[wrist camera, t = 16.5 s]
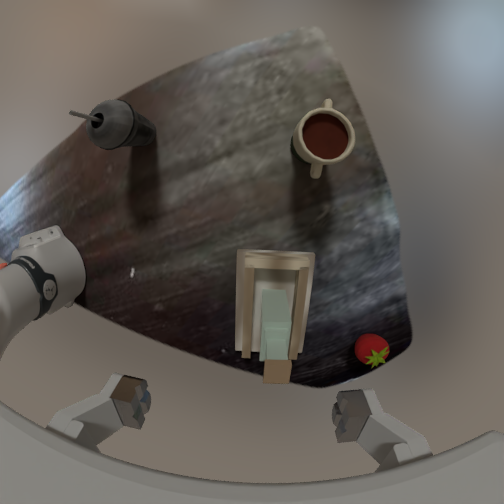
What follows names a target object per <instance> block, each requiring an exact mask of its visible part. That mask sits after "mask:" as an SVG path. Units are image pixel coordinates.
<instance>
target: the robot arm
mask: <svg viewBox="0 0 504 504" xmlns="http://www.w3.org/2000/svg"><path fill="white" fill-rule="evenodd" d="M52 232H53V233H52ZM85 278H86V275H85V268H84V264H83V261H82V258H81V256H80V254H79V252H78V250H77V249H76V248H75V246H74V245H73V244H72V243H71V242H70V241H69V240H68V239H67V238H66V237H65V236H64V234H63V232H62V230H61V229H60V227H59V226H57V225H55V226H52V227H49V228H46V229H43V230H39V231H36V232H33V233H30V234H28V235H25V236H23V237H21V238H20V242H19V248H18V249H15V250H14V251H13V253H12V261H11V262H10V263H9V264H8V265H7V263H2V264H0V359H1V357H2V355H3V353H4V351H5V349H6V348H7V346H8V344H9V343H10V341H11V340H12V339H13V338H14V336H15V335H16V334H18V333H19V332H20V331H21V330H22V329H23V328H24V327H25V326H26V325H28V324H29V323H30V322H31V321H33V320H37V319H39V318H41V317H42V316H44V315H45V314H46V313H48V314H52V313H54V312H55V311H57V310H59V309H60V308H62V307H63V306H65V307H67V308H69V307H71V306H72V305H73V303H74V300H75V298H76V297H77V296H78V295H79V294H80V293H81V292H82V290H83V288H84V286H85ZM147 387H148V385H147V381H146V380H144V379H140V378H136V377H131V376H127V375H123V374H119V373H113V374H112V376H111V377H110V379H109V380H108V382H107V383H106V385H105V386H104V388H103V389H102V391H101V392H100V394H99V395H97V394H96V395H93V396H91V397H89V398H87V399H85V400H82V401H80V402H78V403H76V404H74V405H71V406H69V407H67V408H64V409H62V410H60V411H57V413H56V414H55V415H54V417H53V418H52V420H51V421H50V422H49V424H48V425H47V427H46V428H43V427H41V426H40V425H38V424H36V423H34V422H33V421H31V420H29V419H27V418H26V417H24V416H22V415H21V414H19V413H18V412H16V411H14V410H13V409H11V408H10V407H8V406H7V405H5V404H4V403H2V402H1V401H0V504H504V434H502V433H501V432H498V431H495V430H492V431H489V432H486V433H484V434H482V435H480V436H478V437H477V438H474V439H472V440H470V441H468V442H466V443H464V444H461V445H459V446H457V447H454V448H452V449H449V450H447V451H444V452H442V453H439V454H437V455H434V456H433V454H432V452H431V450H430V447H429V446H428V443H427V441H426V439H425V437H424V436H423V435H421V434H420V433H418V432H416V431H415V430H413V429H411V428H410V427H408V426H407V425H405V424H404V423H402V422H400V421H399V420H397V419H396V418H394V417H393V416H391V415H390V414H388V413H384V412H383V410H382V407H381V406H380V403H379V401H378V398H377V396H376V394H375V392H374V390H373V389H372V388H368V389H361V390H360V389H359V390H350V391H339V392H338V394H337V397H336V398H337V402H336V403H335V404H334V406H333V409H332V420H333V424H334V425H335V426H337V428H336V430H335V433H336V437H337V441H338V443H341V442H351V441H356V442H357V443H358V444H359V445H360V446H361V447H362V448H363V449H364V450H365V451H366V452H367V453H368V454H370V455H371V456H372V457H373V458H374V459H375V460H376V461H377V462H378V463H379V464H380V466H379V467H378V468H377V470H376V471H375V472H374V473H369V474H364V475H359V476H353V477H347V478H340V479H333V480H326V481H315V482H300V483H242V482H229V481H217V480H209V479H202V478H195V477H188V476H183V475H178V474H173V473H167V472H163V471H159V470H154V469H150V468H146V467H143V466H139V465H135V464H132V463H129V462H125V461H122V460H119V459H116V458H113V457H110V456H107V455H104V454H102V453H101V452H100V451H99V449H98V448H97V446H96V445H97V444H99V443H100V442H102V441H103V440H105V439H106V438H108V437H109V436H111V435H112V434H113V433H115V432H116V431H118V430H119V429H120V428H122V427H123V425H124V426H128V427H132V428H136V429H141V427H142V425H143V423H144V421H145V417H144V414H146V413H147V412H148V411H149V409H150V405H151V396H150V393H149V392H148V391H147V390H146V389H147Z"/></svg>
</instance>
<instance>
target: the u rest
mask: <svg viewBox="0 0 504 504" xmlns="http://www.w3.org/2000/svg"><path fill="white" fill-rule="evenodd" d="M314 261H315V254H314V253H313V252H292V251H271V250H250V249H238V250H237V273H236V328H235V350H237V351H242V358H250V353H251V351H254V352H260V319H261V303H262V289H275V290H286V295H287V300H288V305H289V311H290V316H291V321H292V324H291V332H290V339H289V347H288V359H293V360H297V354H298V353H302V348H303V342H304V336H305V329H306V323H307V316H308V309H309V302H310V294H311V287H312V279H313V270H314Z"/></svg>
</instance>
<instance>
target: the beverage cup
mask: <svg viewBox="0 0 504 504" xmlns="http://www.w3.org/2000/svg"><path fill="white" fill-rule="evenodd" d="M69 114H70V115H74V116H78V117H82V118H85V119H87V124H86V130H87V134H88V136H89V138H90V140H91V141H92V142H93V143H94V144H95V145H96V146H99V147H100V148H103V149H106V150H112V149H115V148H119V147H124V146H145V145H148V144H150V143H151V142H152V141H153V140H154V138H155V136H156V127H155V126H154V124H153V123H151V122H150V121H149V120H148V119H146V118H145V117H143V116H142V115H140V114H139V113H137V112H136V111H135V110H134V109H133V108H132V107H131V105H130V104H128V103H127V102H126V101H122V100H108V101H104V102H102V103H100V104H98V105H97V106H96V107H95V108H94V109H93V110H92V111H91V113H90V114H89V115H86V114H83V113H79V112H76V111H70V112H69Z"/></svg>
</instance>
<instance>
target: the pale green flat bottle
mask: <svg viewBox="0 0 504 504" xmlns="http://www.w3.org/2000/svg"><path fill="white" fill-rule="evenodd" d="M291 324H292V321H291V316H290V311H289V305H288V300H287V295H286V290H275V289H262V303H261V319H260V361H265V362H264V373H263V383H273V384H289V379H290V373H291V367H292V363H291V360H288V355H287V354H288V347H289V339H290V332H291Z"/></svg>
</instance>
